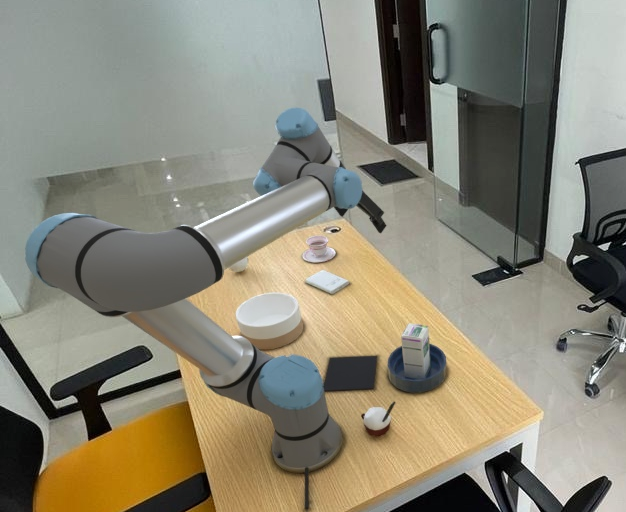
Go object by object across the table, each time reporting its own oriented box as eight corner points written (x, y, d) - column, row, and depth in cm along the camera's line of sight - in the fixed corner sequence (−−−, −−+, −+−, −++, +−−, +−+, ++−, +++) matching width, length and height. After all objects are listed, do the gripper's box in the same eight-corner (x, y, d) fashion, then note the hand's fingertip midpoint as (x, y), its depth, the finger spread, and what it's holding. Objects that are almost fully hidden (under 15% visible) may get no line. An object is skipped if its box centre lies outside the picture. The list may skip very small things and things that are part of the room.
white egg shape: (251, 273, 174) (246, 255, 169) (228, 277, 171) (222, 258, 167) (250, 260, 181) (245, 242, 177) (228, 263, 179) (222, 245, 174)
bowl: (263, 310, 156) (256, 288, 152) (313, 318, 154) (309, 296, 149) (230, 344, 143) (222, 321, 138) (285, 354, 140) (278, 330, 135)
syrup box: (425, 381, 133) (423, 338, 124) (404, 377, 134) (400, 335, 125) (431, 367, 137) (429, 325, 129) (410, 363, 138) (407, 322, 130)
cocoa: (358, 426, 120) (352, 390, 113) (380, 413, 123) (376, 378, 116) (378, 451, 114) (373, 415, 107) (401, 437, 117) (398, 402, 110)
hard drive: (323, 273, 176) (349, 284, 171) (305, 283, 170) (331, 294, 165) (323, 269, 175) (348, 280, 170) (305, 279, 169) (331, 290, 164)
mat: (373, 389, 130) (373, 388, 130) (322, 391, 129) (322, 390, 129) (377, 356, 140) (376, 355, 140) (330, 358, 139) (329, 357, 139)
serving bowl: (447, 392, 130) (447, 379, 127) (387, 394, 128) (385, 382, 126) (445, 353, 143) (445, 341, 140) (390, 355, 141) (389, 343, 138)
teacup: (342, 255, 186) (339, 240, 183) (313, 266, 179) (310, 251, 175) (324, 244, 193) (322, 230, 189) (296, 254, 186) (293, 240, 182)
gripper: (376, 171, 111) (407, 225, 130) (297, 141, 120) (337, 195, 139) (357, 197, 109) (391, 247, 128) (278, 164, 118) (321, 216, 137)
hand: (363, 220), depth 133 cm, fingers open, 13 cm apart
